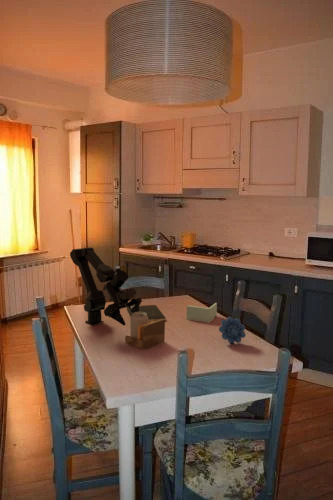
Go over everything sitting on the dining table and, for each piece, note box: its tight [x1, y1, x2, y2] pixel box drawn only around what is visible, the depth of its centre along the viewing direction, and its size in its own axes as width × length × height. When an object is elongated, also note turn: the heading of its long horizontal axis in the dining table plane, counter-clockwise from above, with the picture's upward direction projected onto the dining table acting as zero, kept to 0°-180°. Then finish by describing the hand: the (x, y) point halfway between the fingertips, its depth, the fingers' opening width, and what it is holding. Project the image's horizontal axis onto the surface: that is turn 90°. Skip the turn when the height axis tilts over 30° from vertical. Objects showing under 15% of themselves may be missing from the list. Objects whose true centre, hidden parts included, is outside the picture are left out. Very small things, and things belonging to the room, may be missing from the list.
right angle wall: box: [186, 302, 218, 323], centre depth 209 cm, size 12×12×8 cm
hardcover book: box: [126, 304, 166, 323], centre depth 212 cm, size 16×23×2 cm
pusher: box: [138, 321, 155, 340], centre depth 173 cm, size 1×9×8 cm, turn 139°
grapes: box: [218, 316, 246, 344], centre depth 173 cm, size 12×7×12 cm, turn 96°
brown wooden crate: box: [124, 318, 166, 351], centre depth 174 cm, size 11×12×10 cm
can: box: [129, 312, 149, 339], centre depth 176 cm, size 8×8×12 cm
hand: (132, 322), depth 178 cm, fingers open, 9 cm apart
